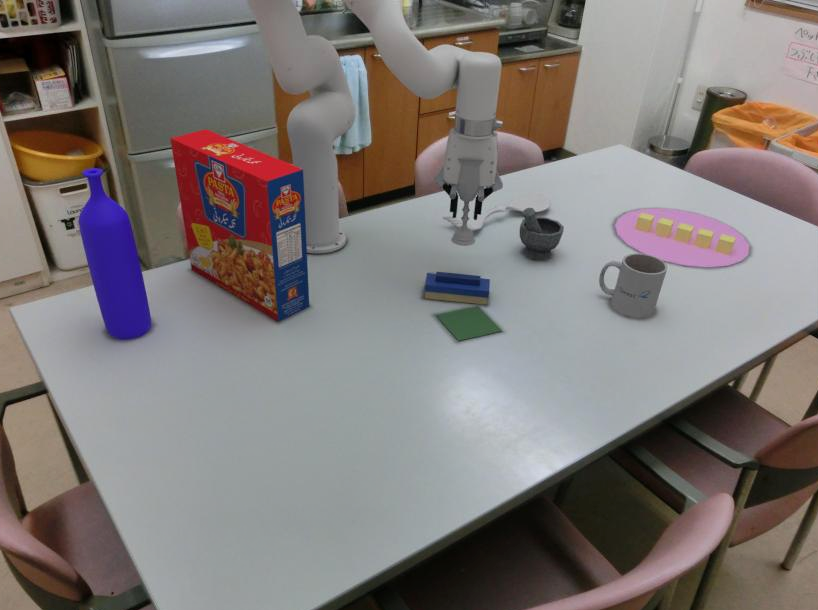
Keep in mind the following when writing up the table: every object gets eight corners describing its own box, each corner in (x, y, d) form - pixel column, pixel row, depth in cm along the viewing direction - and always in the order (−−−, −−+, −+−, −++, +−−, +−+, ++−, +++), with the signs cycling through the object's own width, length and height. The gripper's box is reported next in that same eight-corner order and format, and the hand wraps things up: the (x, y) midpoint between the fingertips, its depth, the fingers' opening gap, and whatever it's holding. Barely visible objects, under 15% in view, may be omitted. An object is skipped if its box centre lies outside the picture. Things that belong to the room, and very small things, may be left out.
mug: (661, 308, 142) (675, 265, 135) (639, 322, 137) (653, 278, 131) (610, 284, 148) (621, 242, 142) (588, 298, 143) (598, 255, 137)
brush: (423, 299, 140) (425, 278, 137) (426, 286, 144) (427, 266, 141) (487, 305, 139) (490, 285, 136) (487, 293, 143) (490, 272, 140)
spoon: (440, 227, 167) (442, 214, 165) (531, 199, 183) (533, 186, 181) (465, 241, 162) (467, 228, 159) (556, 211, 178) (559, 198, 176)
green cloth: (458, 341, 129) (458, 340, 129) (435, 315, 135) (436, 314, 135) (501, 331, 132) (501, 330, 132) (478, 306, 139) (478, 306, 139)
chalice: (444, 232, 146) (450, 148, 135) (476, 232, 146) (484, 148, 135) (449, 248, 140) (456, 161, 129) (482, 248, 140) (491, 161, 130)
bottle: (162, 321, 129) (131, 166, 111) (134, 345, 123) (96, 184, 105) (125, 312, 131) (88, 158, 113) (96, 334, 125) (52, 175, 107)
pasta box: (191, 270, 145) (170, 138, 128) (222, 257, 150) (206, 129, 133) (278, 322, 131) (266, 181, 114) (309, 306, 136) (303, 169, 119)
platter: (734, 281, 152) (739, 268, 150) (596, 241, 165) (599, 228, 163) (760, 231, 174) (765, 218, 172) (637, 198, 187) (640, 187, 185)
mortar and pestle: (538, 240, 164) (547, 192, 157) (566, 256, 158) (577, 207, 151) (503, 251, 159) (510, 202, 151) (530, 268, 153) (539, 218, 145)
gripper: (518, 122, 131) (505, 212, 142) (432, 115, 132) (426, 205, 143) (518, 135, 125) (505, 228, 136) (428, 127, 126) (422, 220, 137)
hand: (465, 215), depth 140 cm, fingers closed on chalice, 3 cm apart
